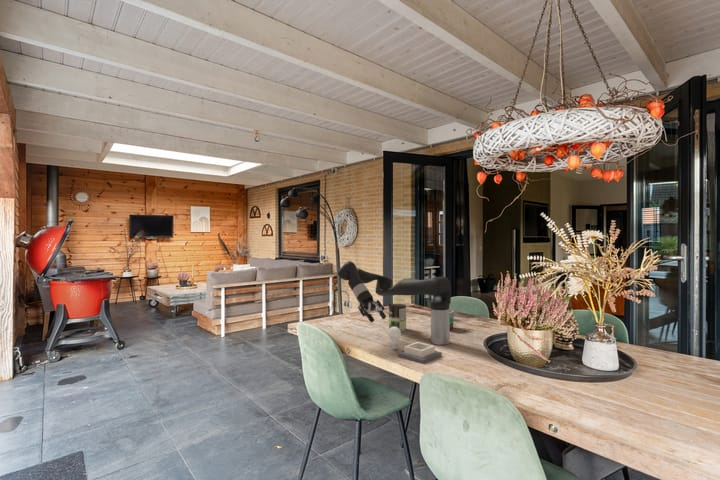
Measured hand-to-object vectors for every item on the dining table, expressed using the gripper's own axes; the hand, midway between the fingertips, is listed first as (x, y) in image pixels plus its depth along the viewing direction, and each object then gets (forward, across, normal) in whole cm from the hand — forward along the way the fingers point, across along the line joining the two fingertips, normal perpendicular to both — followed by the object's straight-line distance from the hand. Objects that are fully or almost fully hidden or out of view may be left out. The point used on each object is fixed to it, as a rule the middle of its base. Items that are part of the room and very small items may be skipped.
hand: (378, 319), depth 183 cm
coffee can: (0, -31, -20) cm, 37 cm away
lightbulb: (+16, -1, -2) cm, 16 cm away
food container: (+14, -52, -5) cm, 54 cm away
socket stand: (+26, -1, +8) cm, 27 cm away
